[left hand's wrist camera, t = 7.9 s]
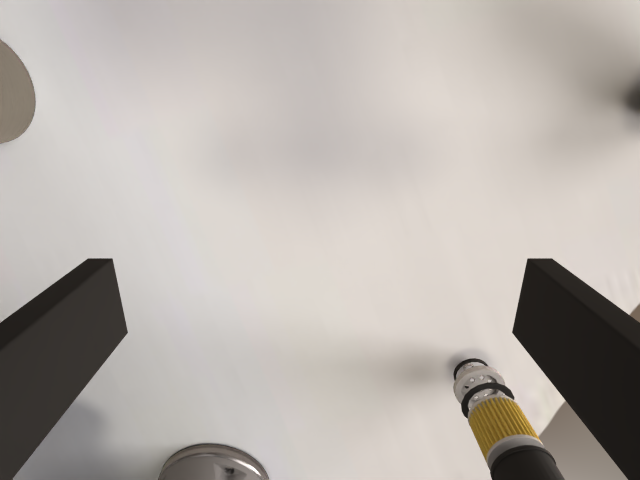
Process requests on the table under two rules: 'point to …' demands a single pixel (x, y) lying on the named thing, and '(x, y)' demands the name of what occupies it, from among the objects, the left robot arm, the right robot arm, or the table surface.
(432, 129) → the table surface
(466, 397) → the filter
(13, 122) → the jar
